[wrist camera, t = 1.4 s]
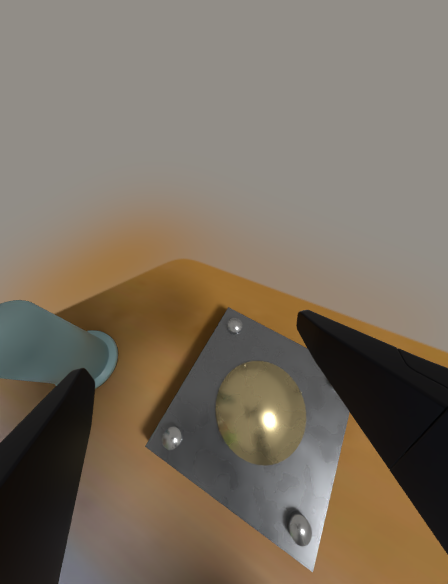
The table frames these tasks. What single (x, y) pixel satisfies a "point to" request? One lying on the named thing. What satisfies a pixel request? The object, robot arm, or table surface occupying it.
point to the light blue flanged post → (50, 346)
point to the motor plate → (258, 432)
